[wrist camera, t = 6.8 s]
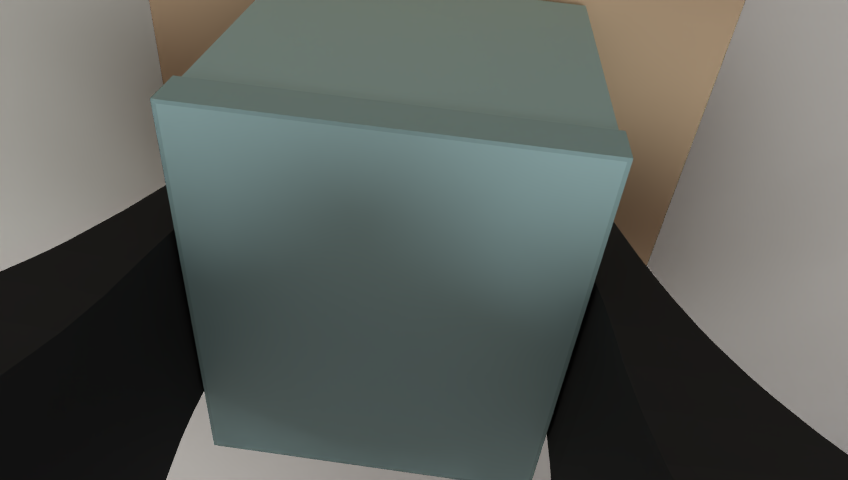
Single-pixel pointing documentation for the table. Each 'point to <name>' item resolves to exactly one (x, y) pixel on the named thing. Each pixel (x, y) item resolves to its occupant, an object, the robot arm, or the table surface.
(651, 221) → the thin wooden board
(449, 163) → the pale teal rectangular block
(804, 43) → the table surface
